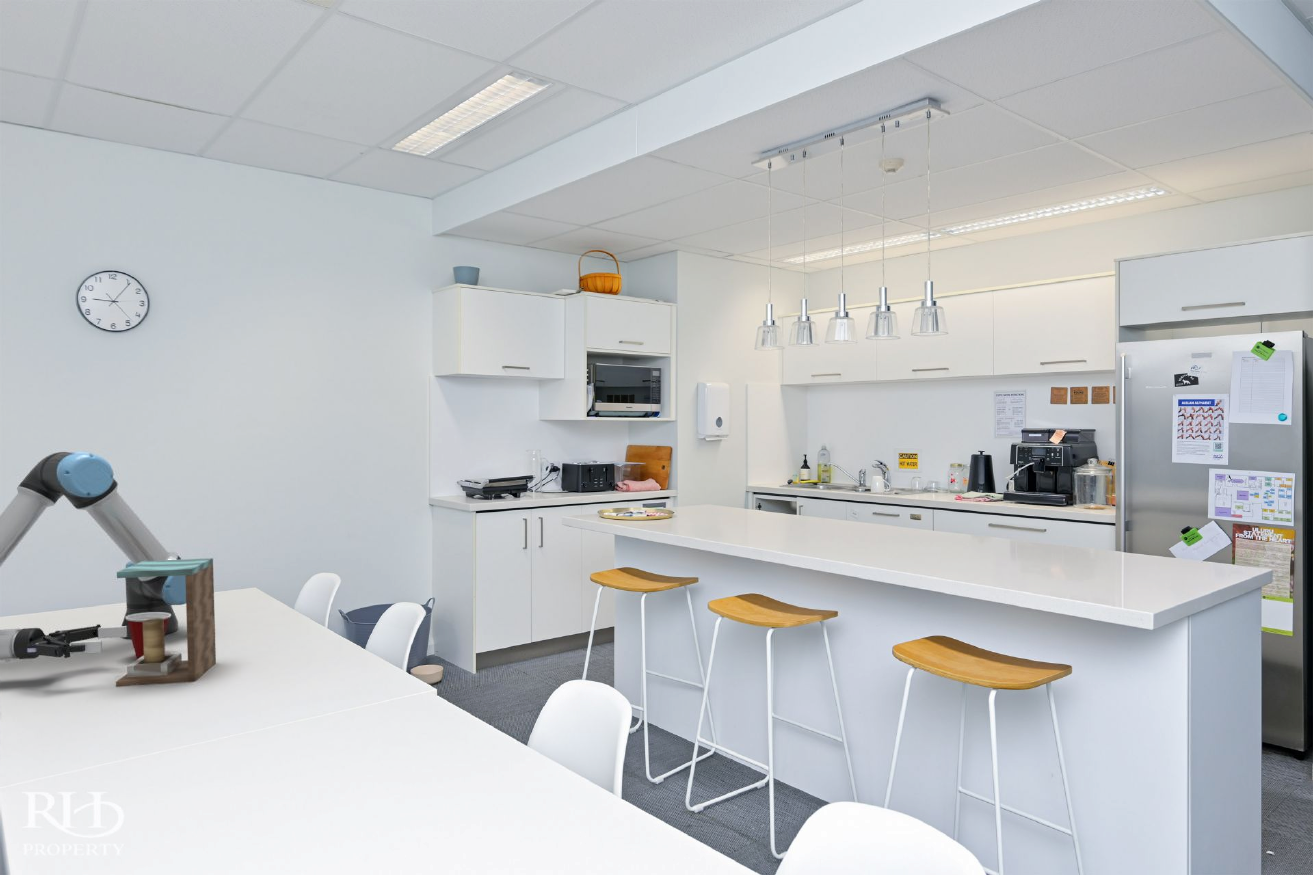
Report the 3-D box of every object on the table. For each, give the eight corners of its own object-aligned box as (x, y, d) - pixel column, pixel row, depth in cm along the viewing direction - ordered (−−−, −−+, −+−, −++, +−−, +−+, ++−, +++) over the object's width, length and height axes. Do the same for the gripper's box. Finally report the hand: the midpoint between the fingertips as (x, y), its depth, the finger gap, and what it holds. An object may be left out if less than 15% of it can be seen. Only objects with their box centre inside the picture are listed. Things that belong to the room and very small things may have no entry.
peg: (149, 668, 210) (147, 618, 210) (168, 666, 211) (166, 617, 211) (141, 673, 206) (139, 623, 206) (161, 672, 207) (159, 622, 206)
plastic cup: (178, 656, 224) (176, 613, 224) (133, 666, 216) (132, 621, 216) (165, 649, 232) (163, 607, 231) (121, 657, 224) (119, 614, 223)
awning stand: (142, 667, 215) (139, 561, 214) (215, 662, 218) (212, 558, 217) (116, 686, 200) (112, 572, 199) (194, 681, 204) (191, 568, 203)
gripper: (48, 644, 215) (136, 639, 219) (-10, 674, 191) (90, 668, 195) (47, 616, 215) (135, 612, 219) (-12, 643, 190) (89, 637, 194)
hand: (114, 638), depth 207 cm, fingers open, 13 cm apart
